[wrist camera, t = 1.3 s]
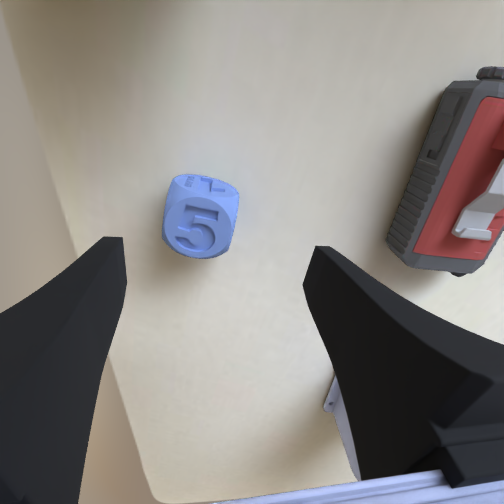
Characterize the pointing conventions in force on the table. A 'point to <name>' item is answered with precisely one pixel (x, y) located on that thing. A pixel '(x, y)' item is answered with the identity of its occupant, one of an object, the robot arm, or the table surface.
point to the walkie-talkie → (456, 182)
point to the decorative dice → (199, 216)
